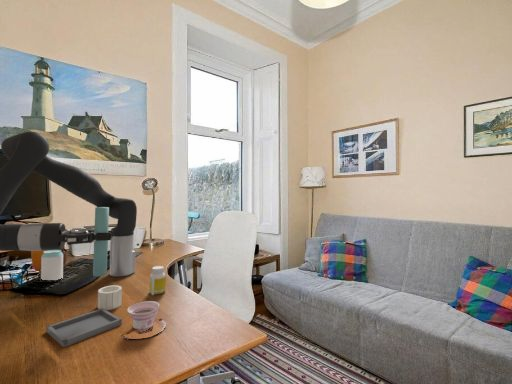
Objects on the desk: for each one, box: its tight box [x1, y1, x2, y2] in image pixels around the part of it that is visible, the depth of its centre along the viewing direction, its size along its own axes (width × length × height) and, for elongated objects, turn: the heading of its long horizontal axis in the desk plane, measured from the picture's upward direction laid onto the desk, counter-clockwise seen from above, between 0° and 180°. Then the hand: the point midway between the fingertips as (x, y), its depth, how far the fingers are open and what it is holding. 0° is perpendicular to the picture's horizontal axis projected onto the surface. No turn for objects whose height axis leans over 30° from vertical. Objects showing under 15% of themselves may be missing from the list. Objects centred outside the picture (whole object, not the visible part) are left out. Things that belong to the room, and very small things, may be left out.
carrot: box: [30, 250, 47, 272], centre depth 120 cm, size 5×5×15 cm
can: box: [40, 250, 64, 280], centre depth 111 cm, size 7×7×12 cm
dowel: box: [92, 206, 110, 277], centre depth 82 cm, size 4×4×20 cm
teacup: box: [121, 300, 167, 339], centre depth 76 cm, size 12×12×6 cm
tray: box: [45, 308, 123, 348], centre depth 74 cm, size 14×11×2 cm
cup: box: [97, 284, 123, 311], centre depth 88 cm, size 7×7×6 cm
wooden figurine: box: [61, 245, 68, 268], centre depth 128 cm, size 7×6×15 cm
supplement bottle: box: [149, 265, 167, 296], centre depth 100 cm, size 5×5×10 cm
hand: (111, 235), depth 83 cm, fingers closed on dowel, 3 cm apart
